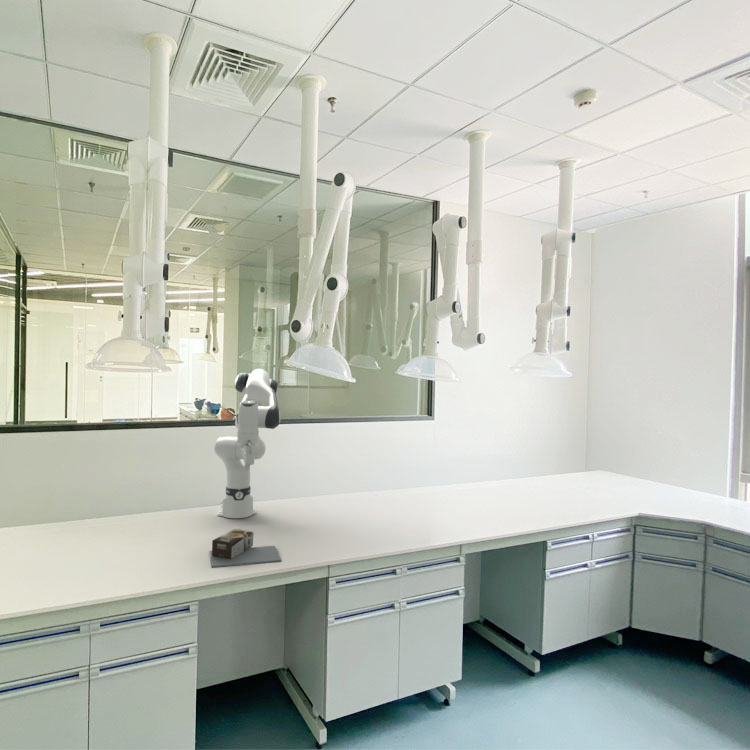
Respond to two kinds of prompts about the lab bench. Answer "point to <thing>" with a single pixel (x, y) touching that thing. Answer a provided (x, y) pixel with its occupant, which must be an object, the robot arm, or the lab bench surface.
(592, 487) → the lab bench surface
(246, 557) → the mat
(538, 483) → the lab bench surface
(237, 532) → the coffee box
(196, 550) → the lab bench surface
